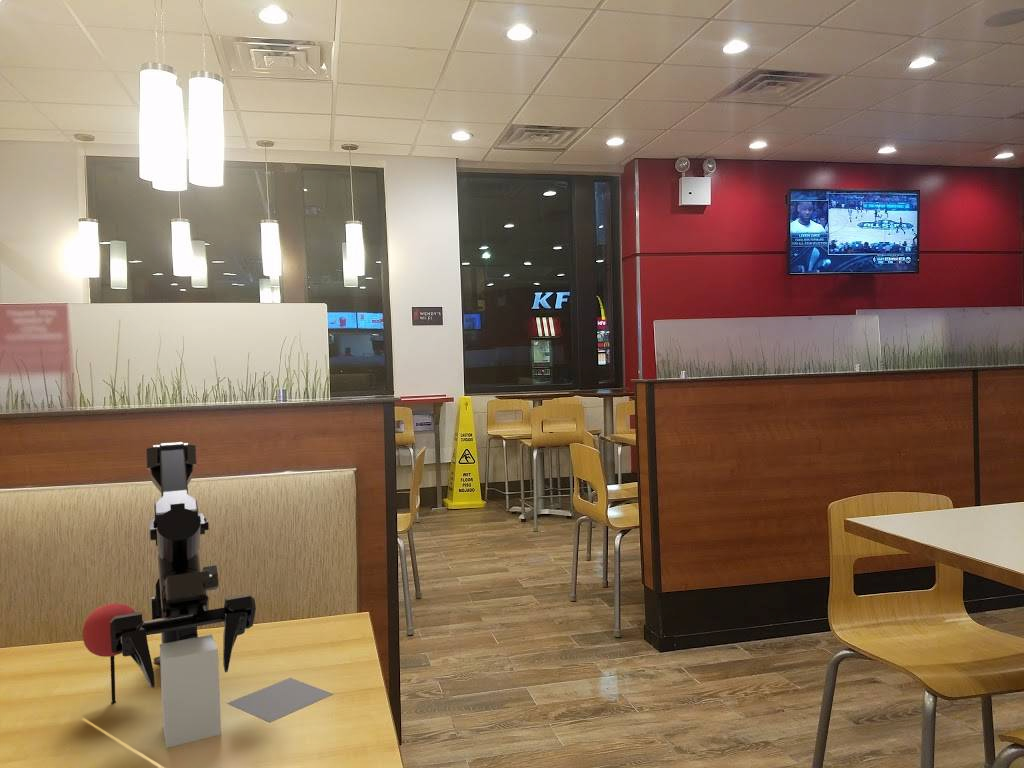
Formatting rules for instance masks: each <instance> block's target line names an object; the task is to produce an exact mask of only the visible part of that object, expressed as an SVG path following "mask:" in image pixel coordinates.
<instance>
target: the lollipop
mask: <svg viewBox="0 0 1024 768" xmlns="http://www.w3.org/2000/svg"><path fill="white" fill-rule="evenodd" d="M131 613H137V612H136V611H135V609H134V608H132V607H131V606H130V605H127V604H125V603H117V602H115V603H108V604H104V605H102V606H100V607H97V608H95V609H94V610H92V612H91V613H90V614H89V615H88V617H86V619H85V621H84V624H83V627H82V642H83V644H84V646H85V647H86V649H87V650H88V651H89V652H90V653H91V654H92V655H95V656H98V657H104V658H105V657H108V658H110V659H109V661H110V684H111V685H110V688H111V690H110V691H111V692H110V693H111V702H110V703H111V704H115V703H117V701H116V671H115V665H116V664H115V656H118V655H120V654H122V652H120V653H113V652H112V650H111V635H110V621H111V620H112V619H113V618H114V616H119V615H125V614H131Z"/></svg>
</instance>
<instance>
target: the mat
mask: <svg viewBox="0 0 1024 768" xmlns="http://www.w3.org/2000/svg"><path fill="white" fill-rule="evenodd" d="M332 695H334V693H333V692H330V691H326V690H324V689H321V688H319V687H316V686H314V685H311V684H309V683H305V682H304V681H300V680H297V679H296V678H292V677H288V678H285V679H284V680H280V681H278V682H276V683H273V684H271V685H268V686H266V687H263V688H261V689H258V690H256V691H253V692H251V693H248V694H246V695H244V696H242V697H239V698H236V699H234V700H231V701H228V702H227V704H228V705H230V706H232V707H235V708H237V709H239V710H241V711H243V712H246V713H247V714H250V715H252V716H254V717H256V718H258V719H261V720H263V721H265V722H268V723H272V722H275V721H277V720H279V719H280V718H284V717H286V716H288V715H290V714H292V713H295V712H297V711H299V710H301V709H303V708H305V707H308V706H310V705H313V704H314V703H317V702H319V701H321V700H323V699H326V698H329V697H330V696H332Z"/></svg>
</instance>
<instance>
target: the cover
mask: <svg viewBox="0 0 1024 768" xmlns="http://www.w3.org/2000/svg"><path fill="white" fill-rule="evenodd" d="M159 656H160V684H161V685H160V686H161V690H160V691H161V711H162V715H161V716H162V730H163V736H164V742H165V743H164V745H165V749H168V748H172V747H176V746H180V745H185V744H189V743H192V742H195V741H200V740H204V739H207V738H213V737H216V736H220V735H222V723H221V722H222V721H221V697H220V696H221V695H220V672H219V648H218V646H217V644H216V641H215V638H214V636H213V634H208V635H203V636H198V637H196V638H191V639H185V640H180V641H175V642H169V643H164V644H162V643H160V644H159Z"/></svg>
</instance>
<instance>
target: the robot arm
mask: <svg viewBox="0 0 1024 768" xmlns="http://www.w3.org/2000/svg"><path fill="white" fill-rule="evenodd" d="M145 456H146V458H145V459H146V462H145V463H146V471H150V474H151V475H150V476H151V482H152V484H153V485H154V486H155V487H156V489H157V490H158V491H159V492H160V496H161V497H160V498H159V500H157V501H156V502H155V503H154V506H153V507H154V517H149V538H150V541H151V542H152V541H155V546H156V547H157V564H158V579H157V580H156V583H155V595H152V596H151V619H149V620H143V611H140V612H136V613H131V614H125V615H119V616H114V618H113V619H112V620H111V621H110V635H111V650H112V652H113V653H120V652H122V653H121V654H122V656H123V657H131V659H132V660H133V661H134V663H136V665H138V667H139V668H140V670H141V672H142V673H143V675H144V678H145V679H146V682H147V683H148V685H149V686H150V689H153V688H155V686H156V685H155V672H154V666H153V662H155V663H157V664H160V655H158V656H157V657H156V656H155V657H154V658H153V662H152V657H151V653H150V648H149V643H148V637H147V636H150V635H151V636H152V635H156V634H160V635H161V644H164V643H169V642H175V641H180V640H185V639H191V638H196V637H199V633H198V627H199V626H207V625H212V624H218V623H222V622H223V635H222V639H223V641H222V643H223V646H222V647H223V650H222V652H223V653H222V655H223V656H222V659H223V660H222V662H223V663H222V664H223V670H224V673H229V668H230V663H231V658H232V652H233V648H234V646H235V643H236V640H237V637H238V636H240V635H243V634H245V631H246V630H248V629H250V628H251V627H253V626H254V622H255V614H256V611H257V606H256V601H255V598H254V597H253V596H252V594H249V593H247V594H241V595H240V594H239V595H235V596H228V597H224V605H223V607H221V608H213V609H209V601H210V599H209V598H210V597H209V596H208V594H207V591H212V590H213V591H214V590H217V589H218V588H219V586H220V585H219V573H218V566H217V564H214V565H213V564H212V565H207V566H203V567H202V569H201V560H200V553H199V552H200V546H201V536H204V535H205V534H206V531H209V529H210V528H209V527H210V526H209V524H210V523H209V521H208V519H207V518H206V517H205V516H204V514H203V512H199V508H198V500H197V499H196V498H195V497H193V496H191V495H190V494H189V489H188V488H189V487H188V485H189V484H190V482H191V481H192V479H193V470H194V468H195V467H197V465H198V463H197V461H198V460H197V445H193V444H189V442H183V441H174V442H161V443H159V444H153V445H152V447H148V448H146V449H145ZM193 467H194V468H193Z"/></svg>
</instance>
